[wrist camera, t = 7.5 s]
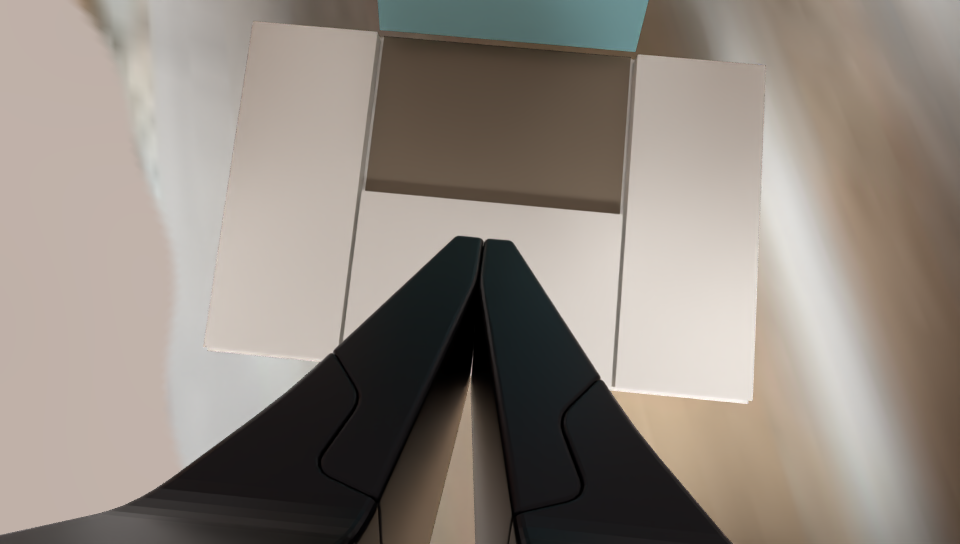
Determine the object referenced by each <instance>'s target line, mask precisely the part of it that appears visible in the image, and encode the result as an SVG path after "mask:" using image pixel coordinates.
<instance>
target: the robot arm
mask: <svg viewBox="0 0 960 544" xmlns="http://www.w3.org/2000/svg"><path fill="white" fill-rule="evenodd" d="M472 360H473V361H472ZM471 368H472V375H471ZM470 375H471V415H472V448H473V481H474V515H475V544H733V543H732V542H731V541H730V540H729V539H728V538H727V537H726V536H725V535H724V533H723V532H722V531H721V530H720V529H719V528H718V526H717V525H716V524H715V523H714V522H713V520H712V519H711V518H710V517H709V516H708V515H707V513H706V512H705V511H704V510H703V509H702V507H701V506H700V505H699V504H698V503H697V502H696V500H695V499H694V498H693V497H692V496H691V494H690V493H689V492H688V491H687V490H686V489H685V487H684V486H683V485H682V484H681V483H680V481H679V480H678V479H677V478H676V477H675V475H674V474H673V473H672V472H671V471H670V470H669V468H668V467H667V466H666V465H665V464H664V462H663V461H662V460H661V459H660V458H659V456H658V455H657V454H656V453H655V451H654V450H653V449H652V448H651V446H650V445H649V444H648V443H647V441H646V440H645V439H644V438H643V436H642V435H641V434H640V433H639V431H638V430H637V429H636V428H635V426H634V425H633V424H632V422H631V421H630V419H629V418H628V416H627V415H626V414H625V412H624V411H623V409H622V408H621V406H620V405H619V404H618V402H617V401H616V399H615V398H614V396H613V395H612V393H611V392H610V390H609V389H608V387H607V385H606V384H605V382H604V381H603V380H601V377H600V375H599V373H598V372H597V370H596V369H595V367H594V366H593V364H592V363H591V361H590V360H589V358H588V357H587V355H586V353H585V352H584V350H583V349H582V347H581V346H580V344H579V343H578V341H577V340H576V338H575V337H574V335H573V333H572V332H571V330H570V329H569V327H568V326H567V324H566V323H565V321H564V320H563V318H562V317H561V315H560V314H559V312H558V310H557V309H556V307H555V306H554V304H553V303H552V301H551V300H550V298H549V297H548V295H547V294H546V292H545V290H544V289H543V287H542V286H541V284H540V283H539V281H538V280H537V278H536V277H535V275H534V274H533V272H532V270H531V269H530V267H529V266H528V264H527V263H526V261H525V260H524V258H523V257H522V255H521V254H520V252H519V251H518V249H517V247H516V246H515V244H514V243H513V242H512V241H510V240H500V239H486V240H485V242H484V241H483V240H482V239H481V238H479V237H468V236H456V237H454V238H453V239H452V240H451V241H450V242H449V243H448V244H447V245H446V246H445V247H444V248H442V249H441V250H440V251H439V252H438V253H437V254H436V255H435V256H434V257H433V258H432V259H431V260H430V261H429V262H427V263H426V264H425V265H424V266H423V267H422V268H421V269H420V270H419V271H418V272H417V273H416V274H415V275H413V276H412V277H411V278H410V279H409V280H408V281H407V282H406V283H405V284H404V285H403V286H402V287H401V288H400V289H398V290H397V291H396V292H395V293H394V294H393V295H392V296H391V297H390V298H389V299H388V300H387V301H386V302H385V303H383V304H382V305H381V306H380V307H379V308H378V309H377V310H376V311H375V312H374V313H373V314H372V315H371V316H370V317H368V318H367V319H366V320H365V321H364V322H363V323H362V324H361V325H360V326H359V327H358V328H357V329H356V330H354V331H353V332H352V333H351V334H350V335H349V336H348V337H347V338H346V339H345V340H344V341H343V342H342V343H341V344H339V345H338V346H337V347H336V348H335V349H334V350H333V353H330V354H328V355H327V356H326V357H325V358H324V359H323V360H322V361H321V362H320V363H319V364H318V365H317V366H316V367H314V368H313V369H312V370H311V371H310V372H309V373H308V374H306V375H305V376H304V377H303V378H302V379H301V380H300V381H298V382H297V383H296V384H295V385H294V386H293V387H292V388H290V389H289V390H288V391H287V392H286V393H284V394H283V395H282V396H281V397H279V398H278V399H277V400H275V401H274V402H273V403H272V404H270V405H269V406H268V407H266V408H265V409H264V410H263V411H261V412H260V413H259V414H257V415H256V416H255V417H254V418H252V419H251V420H249V421H248V422H247V423H245V424H244V425H243V426H241V427H240V428H239V429H237V430H236V431H235V432H233V433H232V434H230V435H229V436H228V437H226V438H225V439H224V440H222V441H221V442H220V443H218V444H217V445H216V446H214V447H213V448H211V449H210V450H209V451H207V452H206V453H205V454H203V455H202V456H201V457H199V458H198V459H197V460H195V461H194V462H192V463H191V464H190V465H188V466H187V467H186V468H184V469H183V470H182V471H180V472H179V473H178V474H176V475H175V476H173V477H172V478H171V479H169V480H168V481H166V482H165V483H163V484H162V485H160V486H159V487H157V488H156V489H154V490H153V491H151V492H149V493H148V494H146V495H144V496H142V497H140V498H138V499H136V500H134V501H132V502H130V503H128V504H126V505H123V506H121V507H118V508H115V509H112V510H109V511H106V512H102V513H99V514H94V515H90V516H86V517H81V518H76V519H72V520H67V521H62V522H58V523H53V524H49V525H44V526H40V527H35V528H31V529H26V530H21V531H17V532H12V533H8V534H3V535H0V544H430V540H431V536H432V532H433V528H434V524H435V520H436V516H437V512H438V508H439V504H440V500H441V496H442V492H443V488H444V484H445V480H446V476H447V472H448V468H449V464H450V460H451V456H452V452H453V448H454V444H455V440H456V436H457V432H458V428H459V424H460V420H461V416H462V412H463V408H464V404H465V400H466V396H467V391H468V387H469V382H470Z"/></svg>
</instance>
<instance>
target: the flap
mask: <svg viewBox="0 0 960 544" xmlns="http://www.w3.org/2000/svg"><path fill="white" fill-rule="evenodd" d="M648 1H649V0H378V12H379V25H380V30H386V31H398V32H409V33H421V34H433V35H444V36H456V37H467V38H479V39H491V40H502V41H514V42H526V43H537V44H549V45H560V46H572V47H584V48H595V49H607V50H619V51H630V52H636V48H637V44H638V40H639V36H640V32H641V28H642V24H643V20H644V16H645V12H646V8H647V4H648Z"/></svg>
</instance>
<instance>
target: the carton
mask: <svg viewBox="0 0 960 544" xmlns="http://www.w3.org/2000/svg"><path fill="white" fill-rule="evenodd" d="M765 73H766V65H757V64H745V63H734V62H722V61H711V60H699V59H687V58H676V57H664V56H653V55H641V54H638V55H637V57H636V59H631V57H620V56H609V55H597V54H586V53H574V52H562V51H551V50H539V49H528V48H516V47H504V46H493V45H481V44H470V43H458V42H446V41H435V40H423V39H412V38H400V37H388V36H384V38H380V37H379V35H378V32H374V31H362V30H351V29H339V28H327V27H316V26H304V25H292V24H281V23H269V22H258V21H253V24H252V31H251V37H250V44H249V51H248V57H247V64H246V70H245V77H244V83H243V90H242V96H241V103H240V109H239V116H238V122H237V129H236V136H235V142H234V149H233V155H232V162H231V168H230V175H229V181H228V188H227V194H226V201H225V208H224V214H223V221H222V227H221V234H220V240H219V247H218V253H217V260H216V266H215V273H214V279H213V286H212V293H211V299H210V306H209V312H208V319H207V325H206V332H205V338H204V345H203V347H208V350H207V351H214V352H224V353H235V354H245V355H255V356H265V357H275V358H286V359H296V360H306V361H316V362H321V361H322V360H323V359H324V358H325V357H326V356H327V355H328V354H330V353H333V350H334V349H335V348H336V347H337V346H338V345H339V344H341V343H342V342H343V341H344V340H345V339H346V338H347V337H348V336H349V335H350V334H351V333H352V332H353V331H354V330H356V329H357V328H358V327H359V326H360V325H361V324H362V323H363V322H364V321H365V320H366V319H367V318H368V317H370V316H371V315H372V314H373V313H374V312H375V311H376V310H377V309H378V308H379V307H380V306H381V305H382V304H383V303H385V302H386V301H387V300H388V299H389V298H390V297H391V296H392V295H393V294H394V293H395V292H396V291H397V290H398V289H400V288H401V287H402V286H403V285H404V284H405V283H406V282H407V281H408V280H409V279H410V278H411V277H412V276H413V275H415V274H416V273H417V272H418V271H419V270H420V269H421V268H422V267H423V266H424V265H425V264H426V263H427V262H429V261H430V260H431V259H432V258H433V257H434V256H435V255H436V254H437V253H438V252H439V251H440V250H441V249H442V248H444V247H445V246H446V245H447V244H448V243H449V242H450V241H451V240H452V239H453V238H454V237H456V236H468V237H479V238H481V239H482V240H483V241H484V242H485V240H486V239H500V240H510V241H512V242H513V243H514V244H515V246H516V247H517V249H518V251H519V252H520V254H521V255H522V257H523V258H524V260H525V261H526V263H527V264H528V266H529V267H530V269H531V270H532V272H533V274H534V275H535V277H536V278H537V280H538V281H539V283H540V284H541V286H542V287H543V289H544V290H545V292H546V294H547V295H548V297H549V298H550V300H551V301H552V303H553V304H554V306H555V307H556V309H557V310H558V312H559V314H560V315H561V317H562V318H563V320H564V321H565V323H566V324H567V326H568V327H569V329H570V330H571V332H572V333H573V335H574V337H575V338H576V340H577V341H578V343H579V344H580V346H581V347H582V349H583V350H584V352H585V353H586V355H587V357H588V358H589V360H590V361H591V363H592V364H593V366H594V367H595V369H596V370H597V372H598V373H599V375H600V377H601V380H603V381H604V382H605V384H606V385H607V387H608V389H609V390H611V391H622V392H632V393H642V394H652V395H662V396H673V397H683V398H693V399H703V400H713V401H723V402H734V403H744V404H748V401H753V378H754V353H755V327H756V302H757V277H758V251H759V226H760V200H761V175H762V150H763V124H764V99H765ZM472 361H473V360H472ZM471 375H472V368H471ZM471 375H470V377H471Z"/></svg>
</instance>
